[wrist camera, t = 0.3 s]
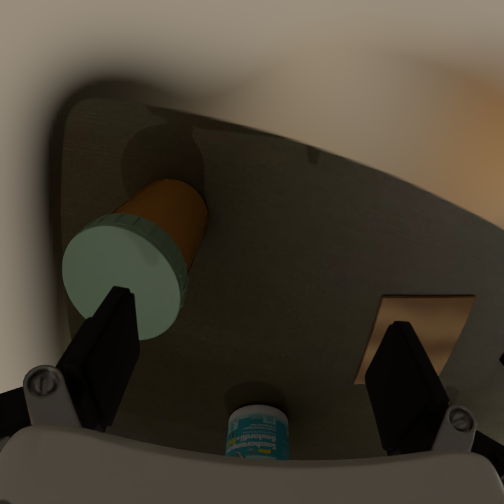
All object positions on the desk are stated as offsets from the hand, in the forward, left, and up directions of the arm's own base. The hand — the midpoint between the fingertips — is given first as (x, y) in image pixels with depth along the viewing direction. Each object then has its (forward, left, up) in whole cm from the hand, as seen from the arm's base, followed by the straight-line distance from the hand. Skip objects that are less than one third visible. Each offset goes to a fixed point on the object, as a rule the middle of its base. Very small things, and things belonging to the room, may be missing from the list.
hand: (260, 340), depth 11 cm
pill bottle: (+26, +6, -16) cm, 31 cm away
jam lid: (+2, -7, -5) cm, 9 cm away
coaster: (+10, +20, -15) cm, 27 cm away
